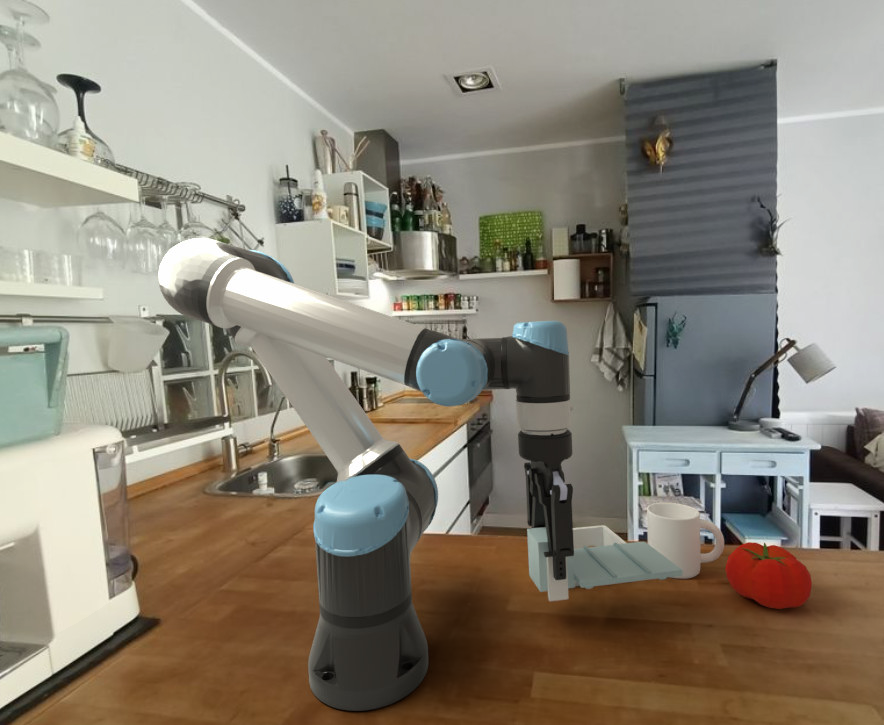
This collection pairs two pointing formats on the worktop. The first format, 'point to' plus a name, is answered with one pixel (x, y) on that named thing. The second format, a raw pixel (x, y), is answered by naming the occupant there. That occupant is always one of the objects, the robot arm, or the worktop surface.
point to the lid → (600, 563)
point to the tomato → (768, 575)
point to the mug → (681, 536)
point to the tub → (594, 538)
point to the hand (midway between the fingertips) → (550, 588)
